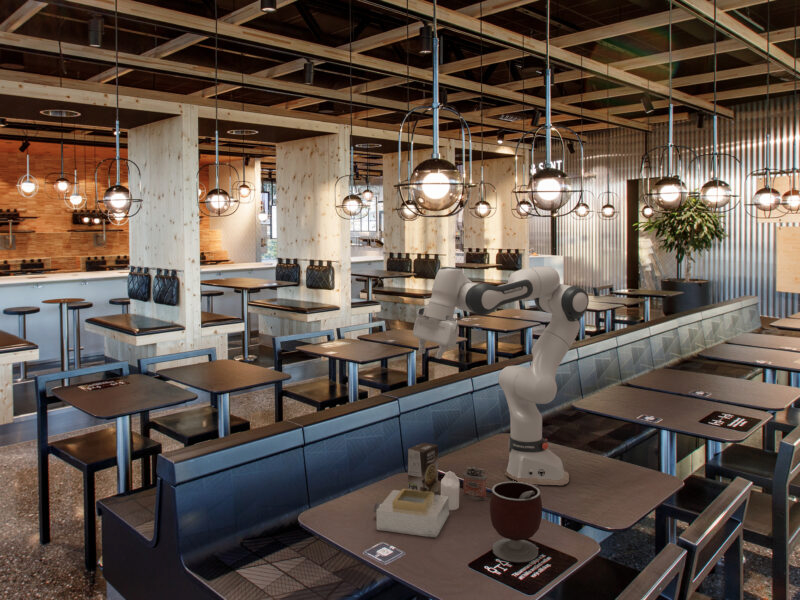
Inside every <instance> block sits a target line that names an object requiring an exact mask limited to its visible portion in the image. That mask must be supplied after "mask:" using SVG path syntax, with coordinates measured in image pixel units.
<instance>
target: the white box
mask: <svg viewBox="0 0 800 600" xmlns="http://www.w3.org/2000/svg"><path fill="white" fill-rule="evenodd" d="M374 513H375V514H376V530H377V531H384V532H390V533H398V534H406V535H412V536H420V537H427V538H434V539H437V537H439V536H438V535H439V534H440V532H441V531H442V528H443V526H444V524H445V523H446V521H447V519H448V517H449V515H450V510H449V496H443V495H441V494H435V493H434V492H429V491H420V490H411V489H408V488H402V489H401V490H398V489H392V490H391V492H390V493H389V494H388V495H387V497H386V498H385V499H384V500H383V502H376V503H375V504H374Z"/></svg>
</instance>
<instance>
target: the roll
mask: <svg viewBox="0 0 800 600" xmlns="http://www.w3.org/2000/svg"><path fill="white" fill-rule="evenodd" d="M440 495H443V496H449V511H456V510H457V509H459V508H460V479H459V478H458V476H457V475H456V473H455V472H453V471H451V470H449V471H447V472H445V475H444V476H443V478H441V480H440Z"/></svg>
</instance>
